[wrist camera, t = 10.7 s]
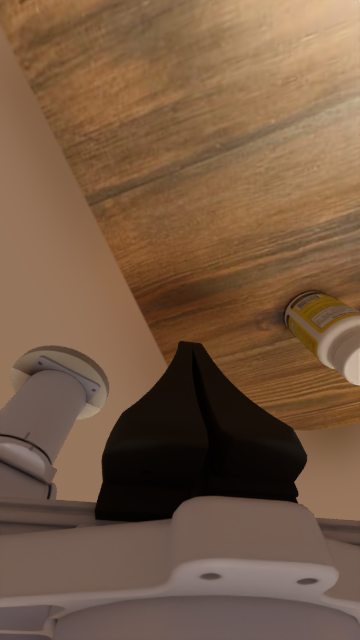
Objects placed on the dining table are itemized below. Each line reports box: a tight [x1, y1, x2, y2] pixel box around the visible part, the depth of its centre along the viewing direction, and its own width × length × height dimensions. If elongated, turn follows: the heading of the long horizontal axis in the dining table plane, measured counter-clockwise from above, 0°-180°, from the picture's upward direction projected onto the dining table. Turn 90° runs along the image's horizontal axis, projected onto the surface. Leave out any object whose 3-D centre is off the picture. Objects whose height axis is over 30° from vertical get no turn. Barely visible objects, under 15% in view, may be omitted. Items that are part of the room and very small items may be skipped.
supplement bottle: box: [285, 291, 360, 385], centre depth 18 cm, size 5×5×8 cm
